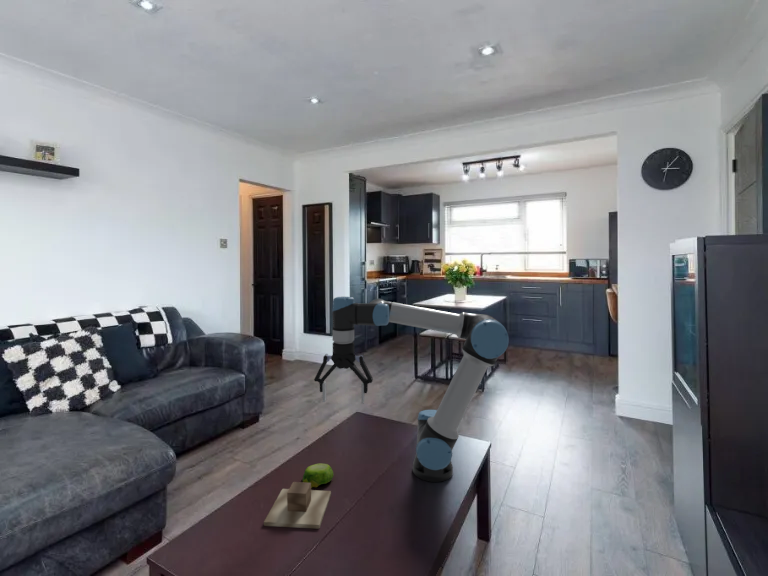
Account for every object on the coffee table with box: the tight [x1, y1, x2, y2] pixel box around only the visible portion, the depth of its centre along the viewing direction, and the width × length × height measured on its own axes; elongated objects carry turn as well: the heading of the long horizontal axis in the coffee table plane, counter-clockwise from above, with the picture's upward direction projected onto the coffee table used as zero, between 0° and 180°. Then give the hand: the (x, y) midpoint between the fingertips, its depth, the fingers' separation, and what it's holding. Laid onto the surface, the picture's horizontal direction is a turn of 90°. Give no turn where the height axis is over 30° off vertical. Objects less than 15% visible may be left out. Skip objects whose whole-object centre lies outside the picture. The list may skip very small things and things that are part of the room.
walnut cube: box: [287, 481, 312, 512], centre depth 125 cm, size 6×6×6 cm
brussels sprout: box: [302, 462, 334, 489], centre depth 142 cm, size 12×11×5 cm
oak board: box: [263, 488, 332, 530], centre depth 125 cm, size 17×17×1 cm
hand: (343, 401), depth 136 cm, fingers open, 13 cm apart
